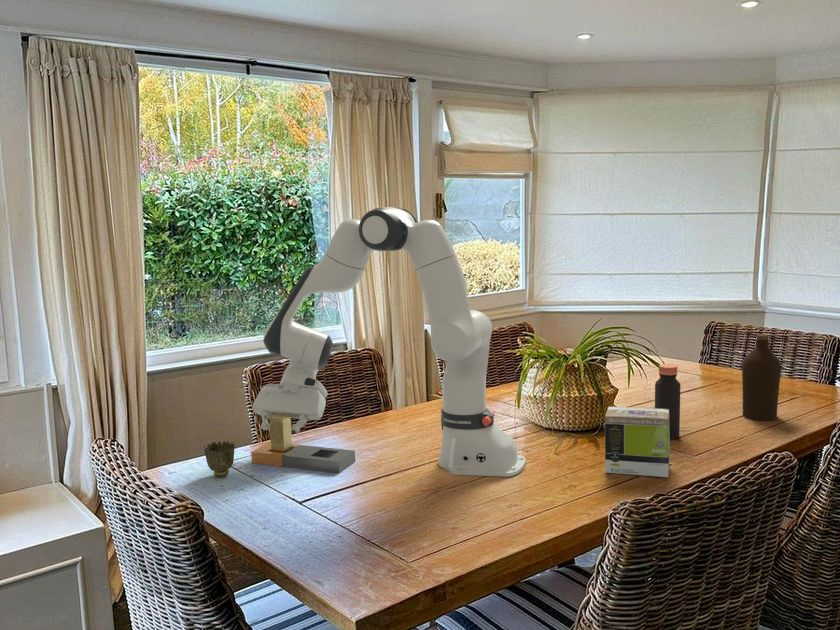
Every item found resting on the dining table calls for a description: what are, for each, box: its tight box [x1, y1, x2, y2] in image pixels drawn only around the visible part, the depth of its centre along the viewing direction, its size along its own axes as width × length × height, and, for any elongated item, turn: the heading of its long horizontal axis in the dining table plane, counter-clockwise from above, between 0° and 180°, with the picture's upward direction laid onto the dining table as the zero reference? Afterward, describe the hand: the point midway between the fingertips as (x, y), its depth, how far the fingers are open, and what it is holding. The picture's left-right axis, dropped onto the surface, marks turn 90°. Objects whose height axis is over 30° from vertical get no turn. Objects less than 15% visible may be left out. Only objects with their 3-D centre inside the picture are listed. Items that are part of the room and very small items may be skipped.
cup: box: [203, 440, 236, 478], centre depth 191 cm, size 8×7×8 cm
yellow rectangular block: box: [268, 414, 293, 453], centre depth 201 cm, size 4×4×12 cm
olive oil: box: [741, 333, 782, 421], centre depth 227 cm, size 11×11×25 cm
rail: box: [250, 441, 356, 474], centre depth 200 cm, size 26×9×3 cm, turn 68°
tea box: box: [604, 405, 670, 479], centre depth 186 cm, size 15×10×15 cm
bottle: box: [654, 363, 681, 440], centre depth 212 cm, size 7×7×20 cm
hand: (279, 430), depth 200 cm, fingers open, 8 cm apart
